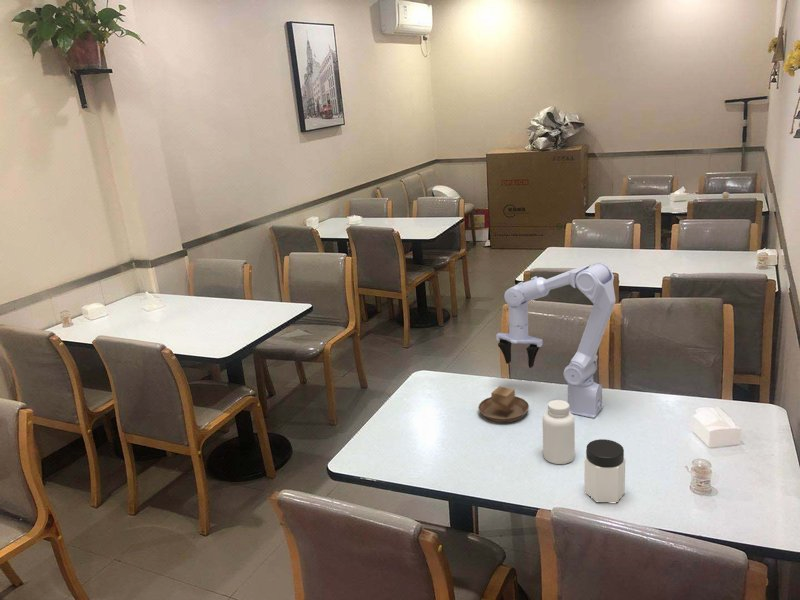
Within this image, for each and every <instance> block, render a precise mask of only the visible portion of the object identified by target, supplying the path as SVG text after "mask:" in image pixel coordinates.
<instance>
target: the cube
mask: <svg viewBox="0 0 800 600" xmlns="http://www.w3.org/2000/svg"><path fill="white" fill-rule="evenodd" d="M515 393H516V392H515V389H514V388H509V387H505V386H501V385H498V387H496V388H495V389H494V390H493V391H492V392H491V393H490V394H491V396H490V397H492V408H493V409H497V410H502V411H506V412H508V411H509V410H510V409H511V408H512V407H513V406H514V405H515V396H516V394H515Z"/></svg>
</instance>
